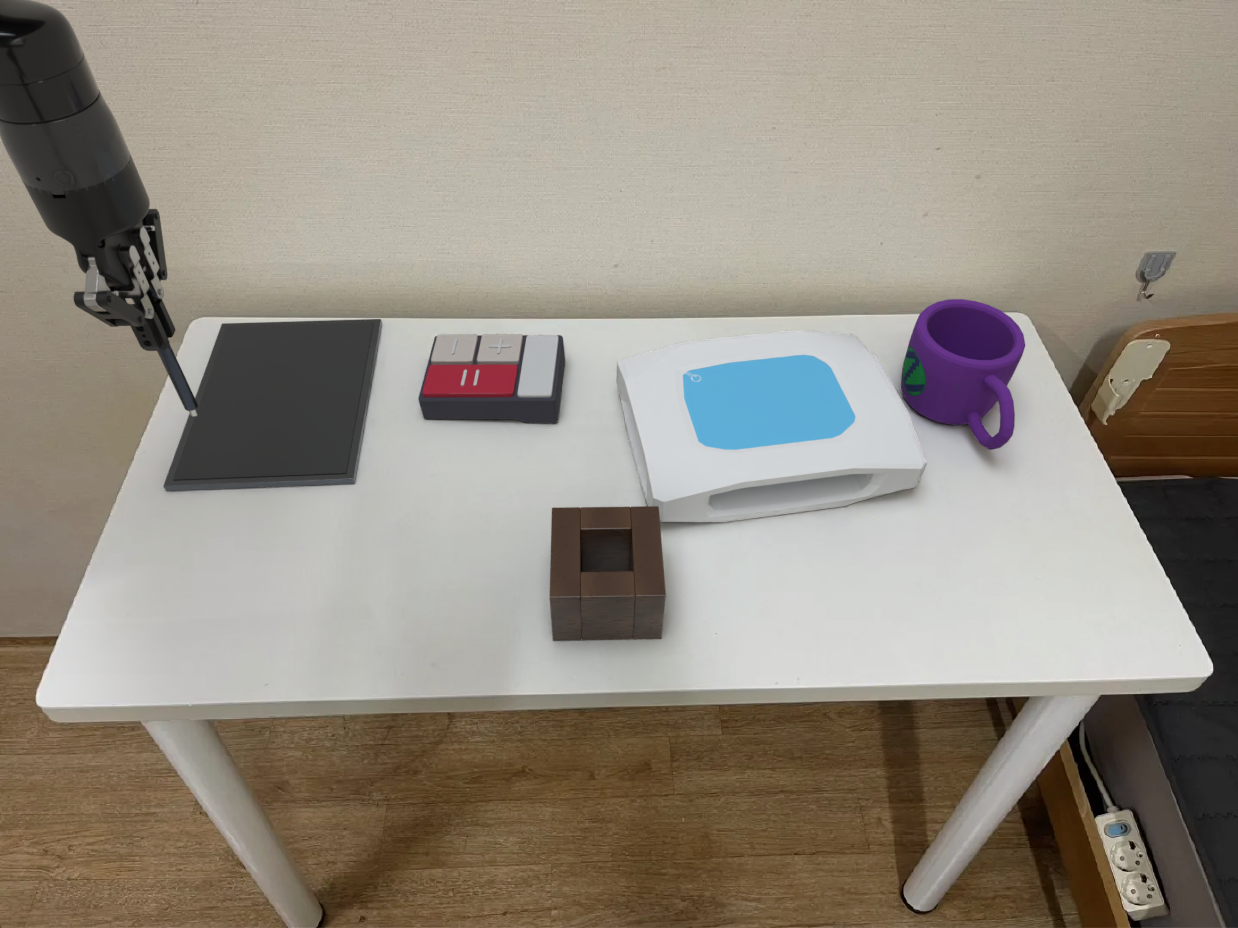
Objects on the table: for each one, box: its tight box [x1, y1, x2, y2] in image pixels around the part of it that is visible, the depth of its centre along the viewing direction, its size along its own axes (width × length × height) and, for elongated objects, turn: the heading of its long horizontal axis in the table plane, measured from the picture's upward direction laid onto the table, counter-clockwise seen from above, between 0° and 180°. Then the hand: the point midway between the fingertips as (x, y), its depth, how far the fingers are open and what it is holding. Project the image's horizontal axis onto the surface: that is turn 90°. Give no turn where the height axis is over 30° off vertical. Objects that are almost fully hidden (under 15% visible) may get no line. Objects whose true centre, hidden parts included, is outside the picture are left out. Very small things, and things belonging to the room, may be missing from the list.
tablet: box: [163, 318, 383, 492], centre depth 99 cm, size 26×19×1 cm
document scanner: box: [615, 329, 928, 523], centre depth 95 cm, size 21×28×6 cm
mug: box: [900, 298, 1026, 451], centre depth 96 cm, size 17×11×10 cm, turn 11°
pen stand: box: [549, 505, 667, 642], centre depth 81 cm, size 10×10×7 cm
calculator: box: [418, 333, 566, 424], centre depth 100 cm, size 11×4×15 cm
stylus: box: [131, 299, 199, 417], centre depth 80 cm, size 1×1×14 cm
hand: (160, 341), depth 78 cm, fingers closed on stylus, 1 cm apart
